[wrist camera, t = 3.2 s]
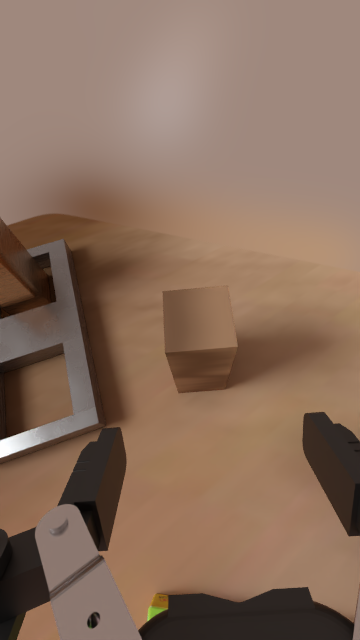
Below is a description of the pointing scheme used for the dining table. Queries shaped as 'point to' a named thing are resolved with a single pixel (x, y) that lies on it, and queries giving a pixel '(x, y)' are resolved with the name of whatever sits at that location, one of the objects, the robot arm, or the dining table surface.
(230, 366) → the tan wooden block
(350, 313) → the dining table surface
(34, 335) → the gray block holder
